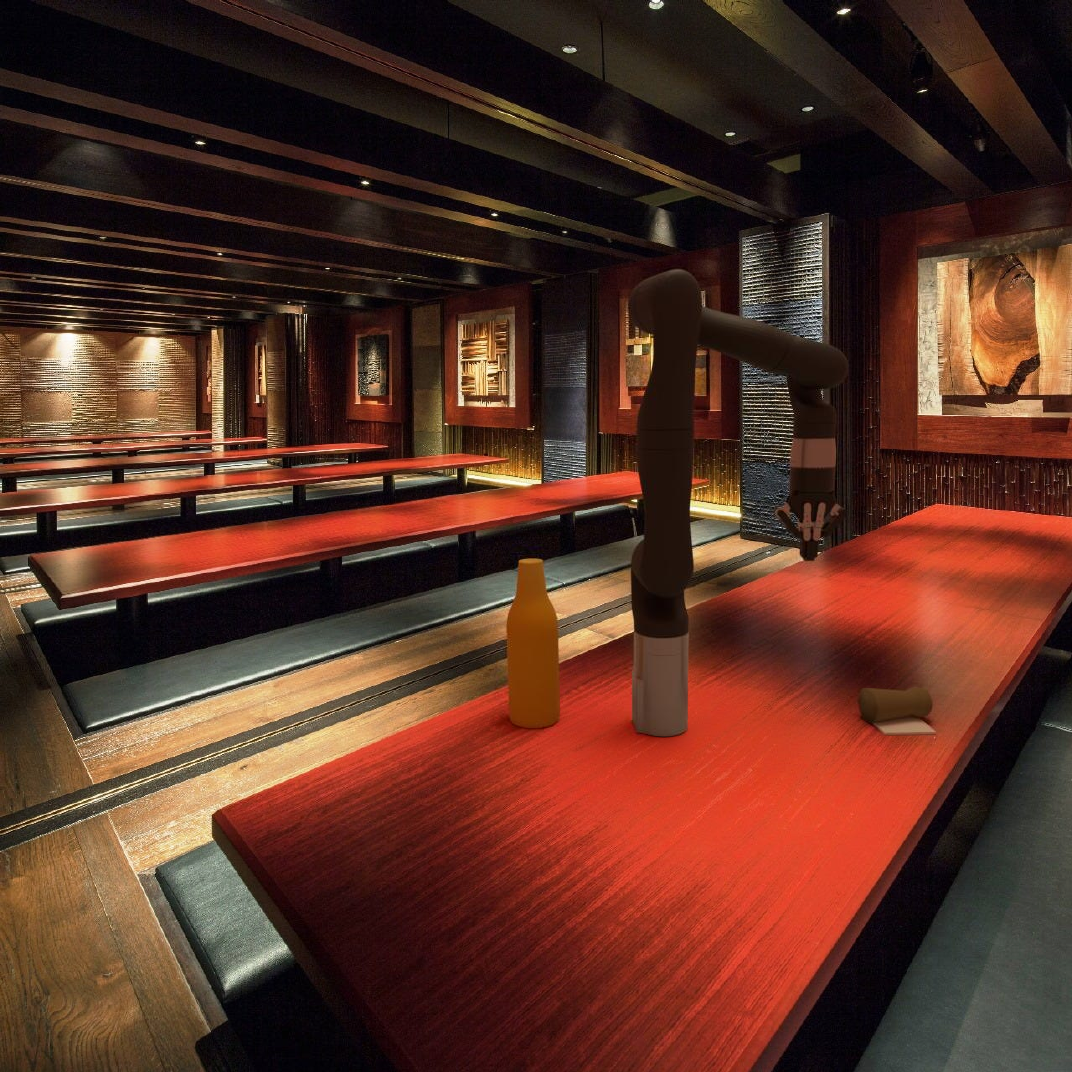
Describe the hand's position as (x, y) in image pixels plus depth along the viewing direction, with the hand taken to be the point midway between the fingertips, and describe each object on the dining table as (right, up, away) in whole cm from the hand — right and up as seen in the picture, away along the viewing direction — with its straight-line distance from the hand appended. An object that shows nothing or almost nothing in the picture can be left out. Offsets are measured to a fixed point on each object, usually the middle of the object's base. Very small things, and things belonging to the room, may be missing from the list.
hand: (808, 560), depth 135 cm
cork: (+8, -25, -6) cm, 27 cm away
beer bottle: (-49, -29, -1) cm, 57 cm away
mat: (+13, -28, -6) cm, 31 cm away
